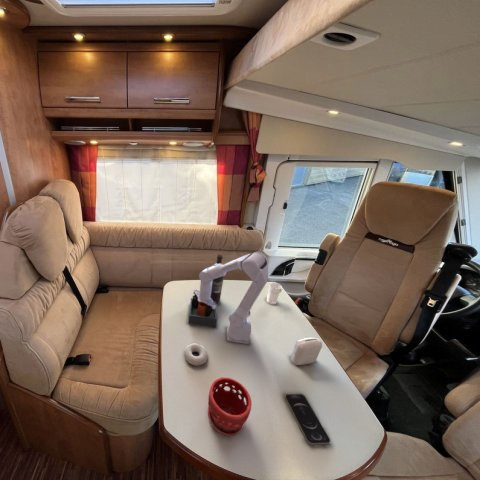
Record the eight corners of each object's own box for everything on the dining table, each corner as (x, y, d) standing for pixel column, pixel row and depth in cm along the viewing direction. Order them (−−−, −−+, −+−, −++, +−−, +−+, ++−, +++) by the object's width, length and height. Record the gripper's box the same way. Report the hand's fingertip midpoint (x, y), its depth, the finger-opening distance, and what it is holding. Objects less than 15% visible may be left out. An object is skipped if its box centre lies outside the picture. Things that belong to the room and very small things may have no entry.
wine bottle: (206, 304, 131) (212, 257, 119) (207, 296, 138) (213, 251, 125) (219, 306, 130) (226, 259, 117) (220, 298, 136) (227, 253, 123)
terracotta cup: (207, 312, 125) (208, 300, 121) (207, 319, 120) (208, 307, 117) (197, 311, 126) (198, 299, 122) (196, 318, 121) (198, 306, 117)
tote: (215, 308, 128) (216, 301, 126) (215, 327, 116) (217, 319, 114) (190, 305, 130) (190, 297, 128) (188, 323, 118) (189, 315, 116)
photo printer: (295, 366, 97) (303, 345, 92) (288, 357, 101) (296, 337, 96) (316, 363, 99) (326, 342, 94) (309, 354, 103) (317, 334, 97)
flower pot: (248, 444, 73) (255, 422, 68) (205, 435, 75) (209, 413, 70) (242, 401, 85) (248, 379, 79) (205, 394, 87) (209, 372, 81)
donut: (182, 365, 97) (207, 369, 95) (183, 359, 96) (207, 363, 94) (185, 345, 106) (207, 349, 104) (185, 339, 105) (208, 343, 103)
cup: (262, 299, 136) (266, 283, 131) (270, 296, 138) (275, 281, 134) (271, 306, 131) (276, 290, 126) (280, 303, 133) (285, 287, 128)
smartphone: (303, 394, 86) (332, 442, 73) (303, 395, 87) (331, 444, 73) (284, 394, 86) (308, 443, 73) (283, 395, 87) (308, 445, 73)
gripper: (189, 285, 119) (187, 306, 125) (210, 301, 108) (207, 323, 114) (199, 281, 123) (197, 301, 129) (220, 296, 112) (217, 317, 118)
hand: (202, 311), depth 122 cm, fingers open, 7 cm apart
